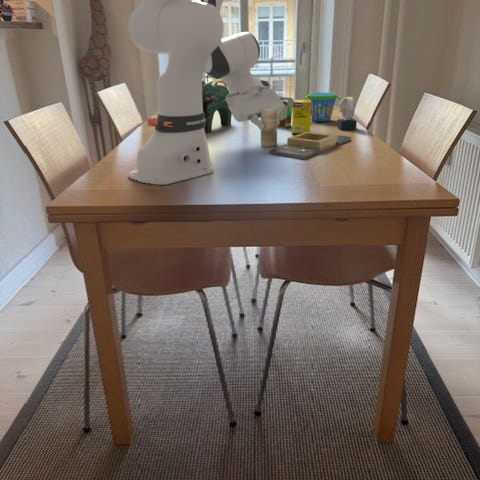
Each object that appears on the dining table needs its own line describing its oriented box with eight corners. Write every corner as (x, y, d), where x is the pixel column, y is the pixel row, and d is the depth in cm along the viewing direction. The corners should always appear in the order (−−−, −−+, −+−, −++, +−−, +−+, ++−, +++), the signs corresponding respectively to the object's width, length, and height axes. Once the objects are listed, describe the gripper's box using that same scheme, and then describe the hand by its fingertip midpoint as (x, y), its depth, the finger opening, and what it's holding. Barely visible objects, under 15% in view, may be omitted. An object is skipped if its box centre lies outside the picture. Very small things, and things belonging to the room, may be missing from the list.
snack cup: (342, 118, 179) (344, 92, 175) (340, 123, 170) (342, 95, 166) (303, 118, 183) (304, 92, 179) (299, 122, 174) (300, 95, 170)
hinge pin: (270, 148, 137) (270, 111, 132) (257, 146, 140) (257, 110, 135) (280, 144, 140) (280, 108, 136) (267, 143, 143) (266, 107, 138)
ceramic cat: (207, 134, 158) (204, 74, 150) (192, 133, 161) (188, 74, 153) (235, 124, 174) (234, 69, 165) (221, 123, 176) (219, 69, 168)
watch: (350, 126, 165) (353, 95, 160) (357, 130, 157) (360, 98, 153) (335, 127, 164) (337, 95, 160) (341, 131, 157) (344, 98, 152)
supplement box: (309, 135, 152) (310, 102, 148) (291, 135, 153) (292, 102, 149) (310, 132, 157) (311, 99, 153) (293, 131, 159) (294, 99, 154)
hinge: (304, 159, 124) (305, 148, 122) (269, 153, 130) (269, 143, 129) (351, 140, 144) (351, 130, 143) (318, 135, 151) (318, 126, 150)
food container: (300, 127, 166) (301, 99, 162) (288, 129, 163) (288, 100, 159) (280, 122, 175) (280, 96, 171) (267, 124, 172) (267, 97, 168)
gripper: (227, 87, 130) (253, 125, 128) (272, 81, 143) (296, 115, 141) (217, 102, 135) (242, 139, 133) (262, 94, 148) (285, 128, 146)
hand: (270, 126), depth 137 cm, fingers closed on hinge pin, 5 cm apart
